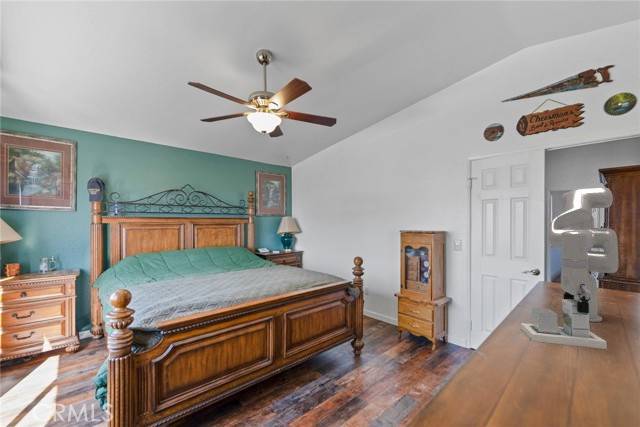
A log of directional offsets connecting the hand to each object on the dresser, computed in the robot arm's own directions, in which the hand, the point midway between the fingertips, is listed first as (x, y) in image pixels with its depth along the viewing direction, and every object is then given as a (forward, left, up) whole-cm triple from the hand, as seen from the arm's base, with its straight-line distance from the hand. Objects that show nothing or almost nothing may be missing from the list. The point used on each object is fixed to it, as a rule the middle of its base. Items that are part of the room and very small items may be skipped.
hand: (575, 308), depth 108 cm
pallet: (+1, -5, -13) cm, 14 cm away
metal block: (+1, -10, -12) cm, 16 cm away
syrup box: (0, 0, -12) cm, 12 cm away
